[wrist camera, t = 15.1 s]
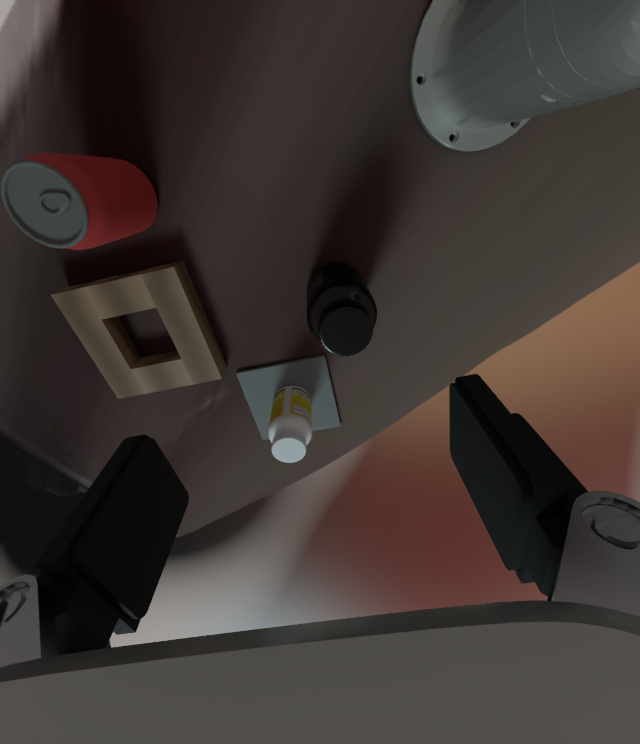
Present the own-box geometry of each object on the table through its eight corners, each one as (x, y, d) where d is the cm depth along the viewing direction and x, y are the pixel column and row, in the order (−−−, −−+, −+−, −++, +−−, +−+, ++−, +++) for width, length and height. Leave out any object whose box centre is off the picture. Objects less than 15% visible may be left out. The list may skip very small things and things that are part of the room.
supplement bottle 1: (276, 417, 48) (268, 469, 39) (270, 385, 45) (260, 434, 36) (313, 414, 47) (314, 465, 39) (309, 382, 45) (309, 430, 36)
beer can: (172, 219, 34) (113, 239, 24) (118, 240, 35) (39, 267, 25) (136, 147, 31) (49, 134, 21) (77, 172, 32) (-33, 171, 22)
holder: (183, 260, 37) (173, 266, 34) (227, 366, 44) (221, 378, 41) (68, 286, 38) (50, 294, 35) (129, 386, 45) (118, 398, 42)
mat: (324, 354, 43) (324, 356, 43) (340, 424, 49) (340, 426, 49) (236, 371, 44) (236, 373, 44) (263, 437, 50) (262, 439, 50)
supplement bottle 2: (322, 326, 41) (325, 377, 31) (296, 277, 38) (291, 315, 28) (373, 303, 40) (395, 348, 29) (351, 250, 36) (367, 279, 26)
